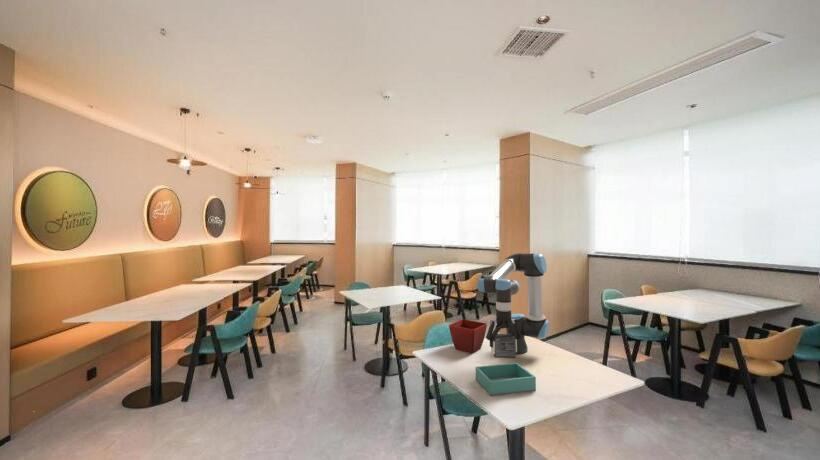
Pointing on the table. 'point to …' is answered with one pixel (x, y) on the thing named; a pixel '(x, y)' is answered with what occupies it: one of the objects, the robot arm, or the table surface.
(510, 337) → the small box
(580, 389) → the table surface
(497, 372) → the bin
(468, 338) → the plant pot
